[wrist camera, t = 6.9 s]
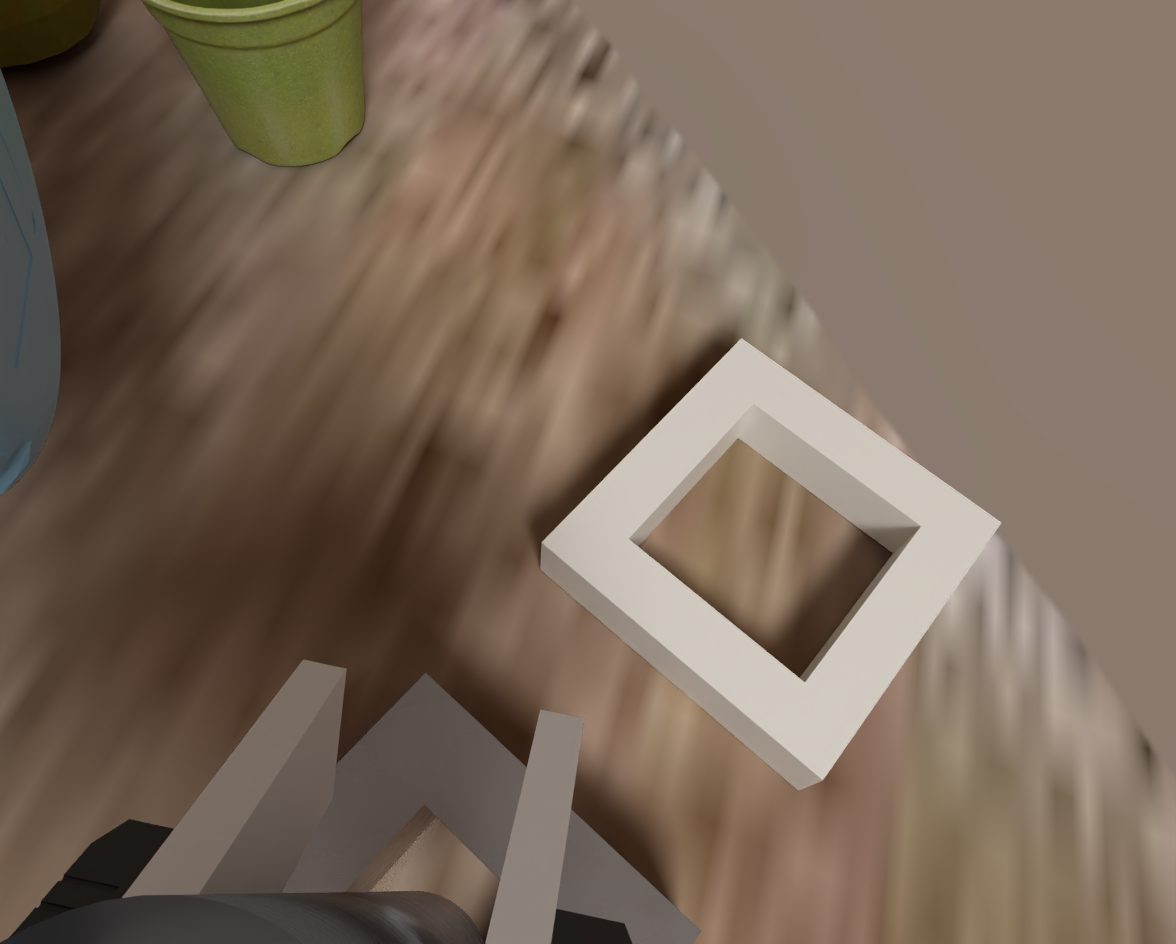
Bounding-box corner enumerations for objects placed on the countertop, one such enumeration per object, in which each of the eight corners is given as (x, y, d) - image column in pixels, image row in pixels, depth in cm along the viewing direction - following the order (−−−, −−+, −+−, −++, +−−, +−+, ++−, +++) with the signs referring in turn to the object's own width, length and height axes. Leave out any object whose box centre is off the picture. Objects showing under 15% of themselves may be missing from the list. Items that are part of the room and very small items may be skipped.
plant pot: (422, 178, 38) (396, -10, 30) (199, 216, 36) (110, 28, 28) (381, 38, 42) (348, -160, 34) (178, 67, 40) (95, -135, 32)
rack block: (540, 569, 30) (541, 542, 28) (727, 375, 34) (741, 338, 32) (798, 790, 27) (822, 780, 25) (967, 550, 31) (1001, 522, 29)
